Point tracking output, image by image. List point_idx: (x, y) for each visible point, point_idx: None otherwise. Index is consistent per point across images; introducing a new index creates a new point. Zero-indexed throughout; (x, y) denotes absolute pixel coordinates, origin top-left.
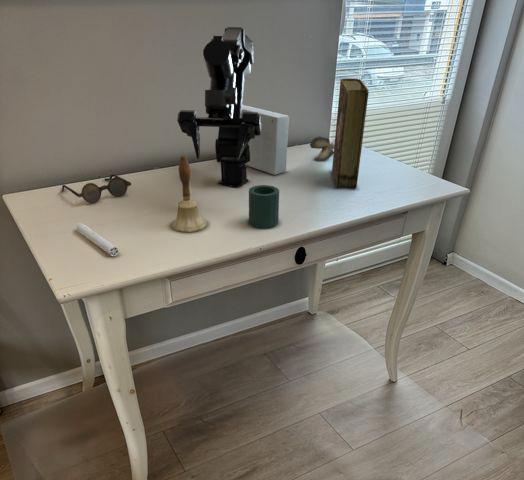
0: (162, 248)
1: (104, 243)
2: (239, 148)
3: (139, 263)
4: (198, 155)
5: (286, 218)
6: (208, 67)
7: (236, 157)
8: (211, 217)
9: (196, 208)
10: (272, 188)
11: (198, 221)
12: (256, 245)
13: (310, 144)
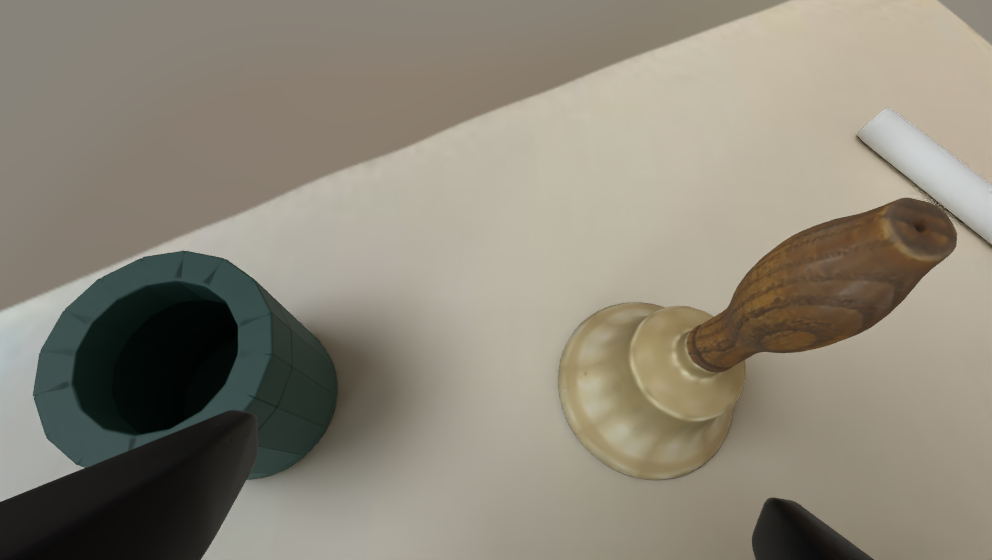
0: (710, 177)
1: (935, 142)
2: (124, 468)
3: (756, 88)
4: (775, 526)
5: None
6: None
7: (251, 416)
8: (537, 491)
9: (625, 342)
10: (76, 390)
11: (599, 335)
12: (345, 177)
13: None
